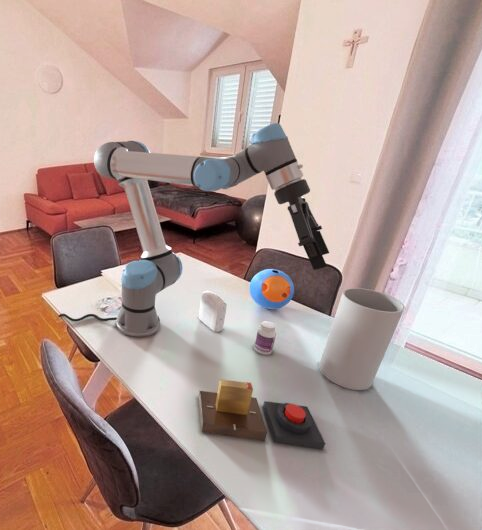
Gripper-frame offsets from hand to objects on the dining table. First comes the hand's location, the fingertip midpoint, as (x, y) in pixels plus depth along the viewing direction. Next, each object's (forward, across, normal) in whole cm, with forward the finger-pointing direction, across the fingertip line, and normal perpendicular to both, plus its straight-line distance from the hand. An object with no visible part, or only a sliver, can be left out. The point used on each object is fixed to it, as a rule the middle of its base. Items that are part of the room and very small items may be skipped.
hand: (322, 260), depth 79 cm
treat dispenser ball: (+20, +36, +28) cm, 50 cm away
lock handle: (+23, -27, +26) cm, 44 cm away
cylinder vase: (+36, +7, +8) cm, 37 cm away
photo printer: (+14, +10, +41) cm, 45 cm away
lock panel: (+25, -27, +28) cm, 46 cm away
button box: (+32, -21, +17) cm, 41 cm away
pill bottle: (+24, +6, +26) cm, 36 cm away
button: (+29, -21, +15) cm, 39 cm away
